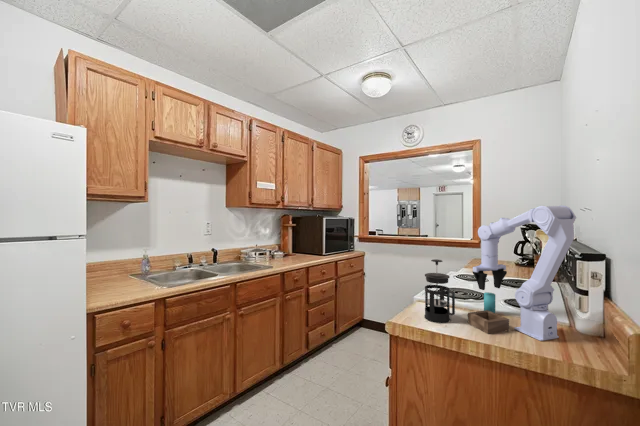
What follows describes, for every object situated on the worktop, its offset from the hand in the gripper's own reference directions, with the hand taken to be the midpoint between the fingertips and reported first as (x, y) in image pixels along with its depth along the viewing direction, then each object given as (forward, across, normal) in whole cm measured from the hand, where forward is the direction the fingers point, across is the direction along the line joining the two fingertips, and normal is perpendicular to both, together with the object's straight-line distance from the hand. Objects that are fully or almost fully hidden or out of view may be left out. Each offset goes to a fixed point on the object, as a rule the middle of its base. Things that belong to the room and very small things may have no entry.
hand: (489, 288), depth 113 cm
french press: (+10, +23, -1) cm, 25 cm away
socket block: (+10, +11, +10) cm, 18 cm away
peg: (+10, 0, 0) cm, 10 cm away
